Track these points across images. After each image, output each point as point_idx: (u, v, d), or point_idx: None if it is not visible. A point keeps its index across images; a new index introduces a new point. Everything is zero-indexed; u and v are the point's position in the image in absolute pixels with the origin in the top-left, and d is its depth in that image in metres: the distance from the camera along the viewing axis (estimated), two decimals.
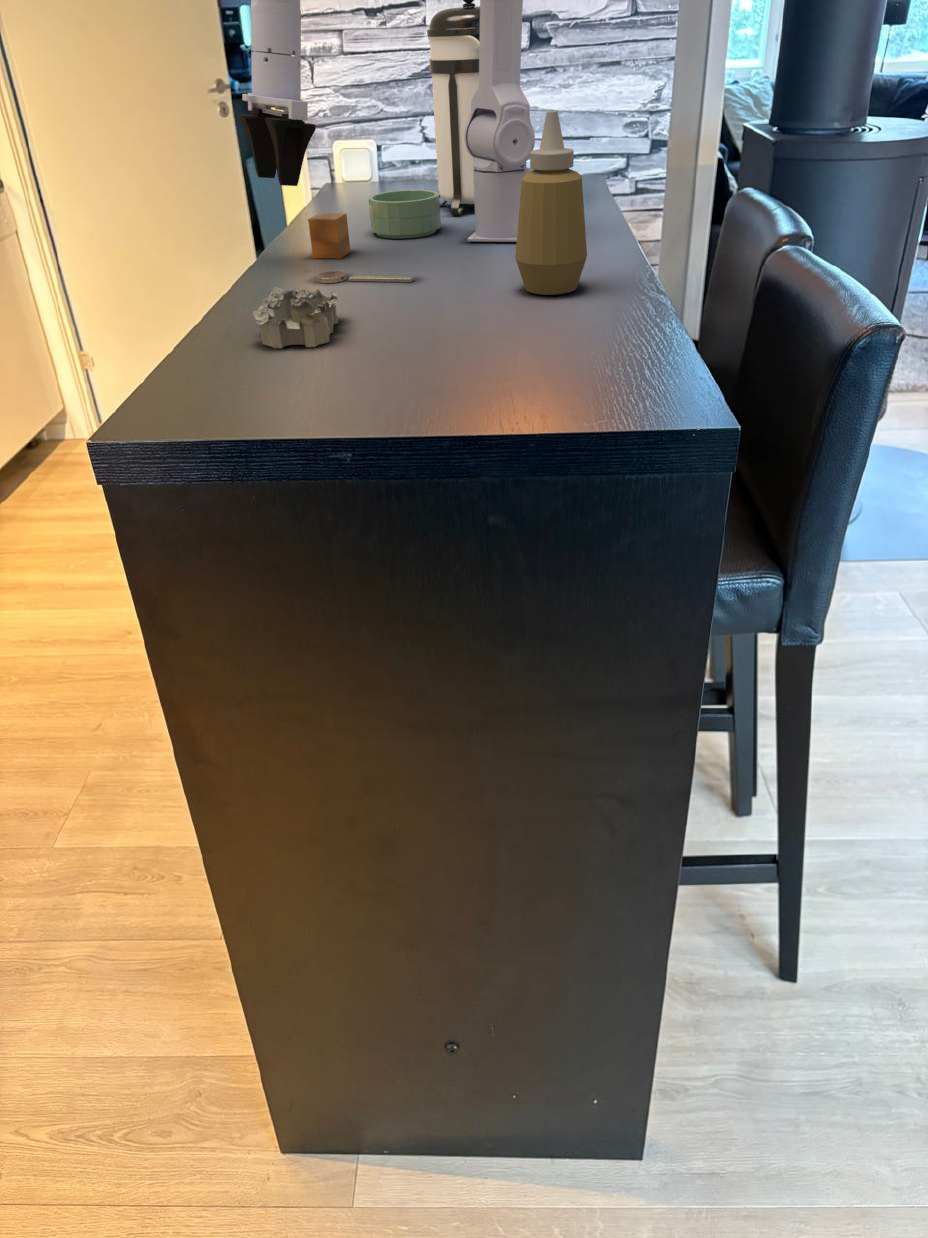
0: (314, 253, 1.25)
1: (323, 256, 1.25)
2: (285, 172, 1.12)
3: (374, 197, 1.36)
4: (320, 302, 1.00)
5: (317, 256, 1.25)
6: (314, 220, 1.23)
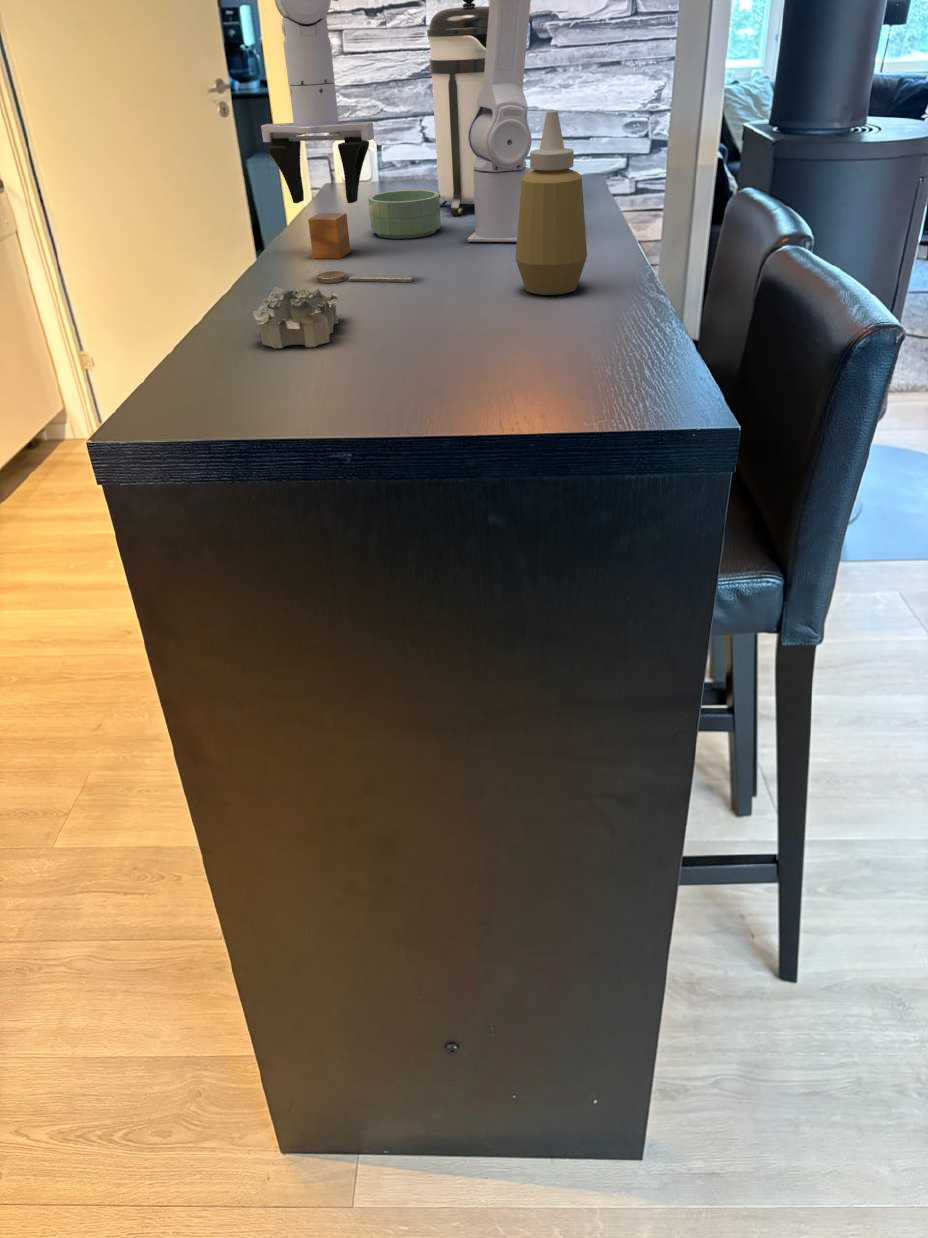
0: (314, 253, 1.25)
1: (323, 256, 1.25)
2: (353, 190, 1.21)
3: (374, 197, 1.36)
4: (320, 302, 1.00)
5: (317, 256, 1.25)
6: (314, 220, 1.23)
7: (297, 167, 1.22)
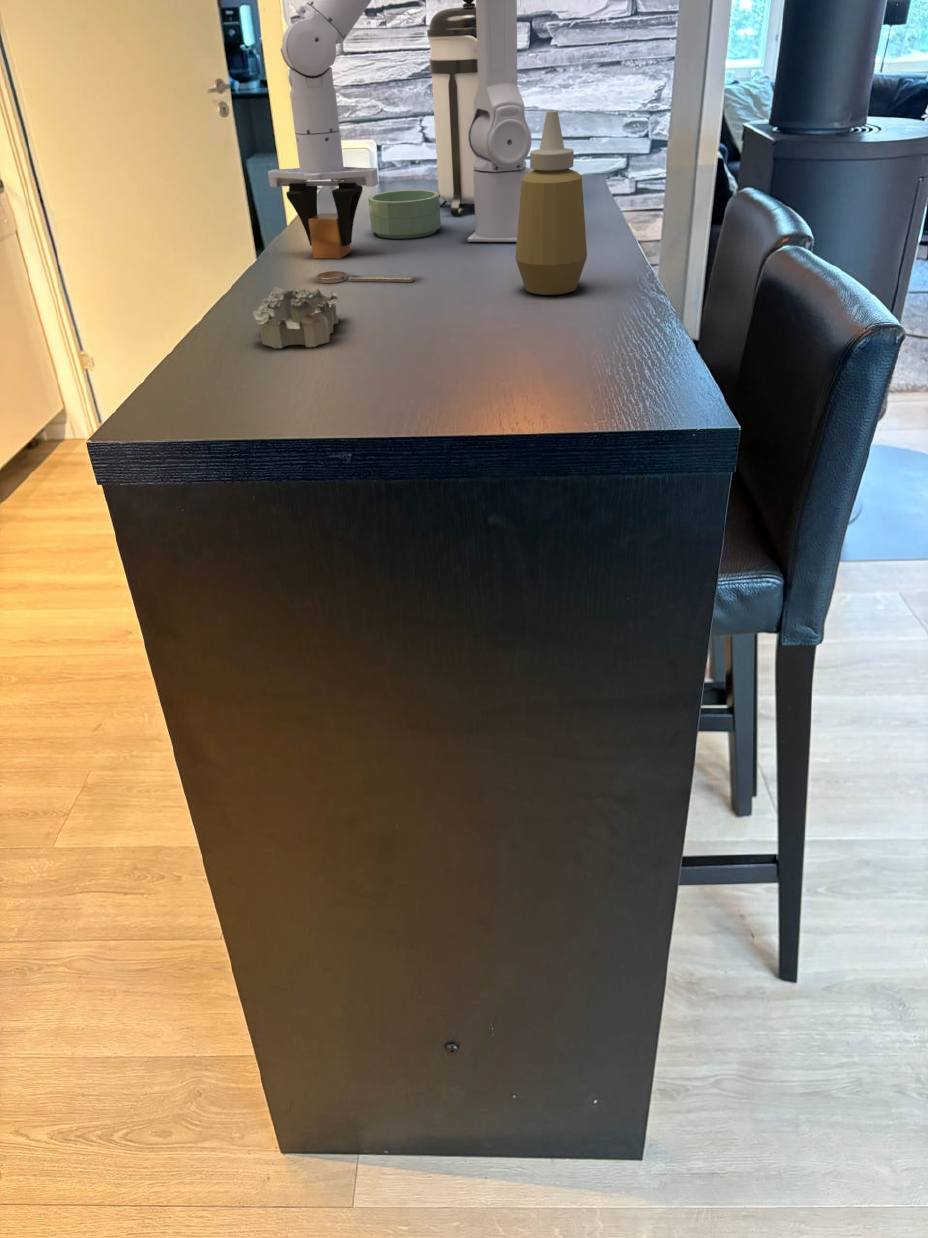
0: (314, 253, 1.25)
1: (323, 256, 1.25)
2: (347, 233, 1.24)
3: (374, 197, 1.36)
4: (320, 302, 1.00)
5: (317, 256, 1.25)
6: (314, 220, 1.23)
7: (314, 211, 1.25)
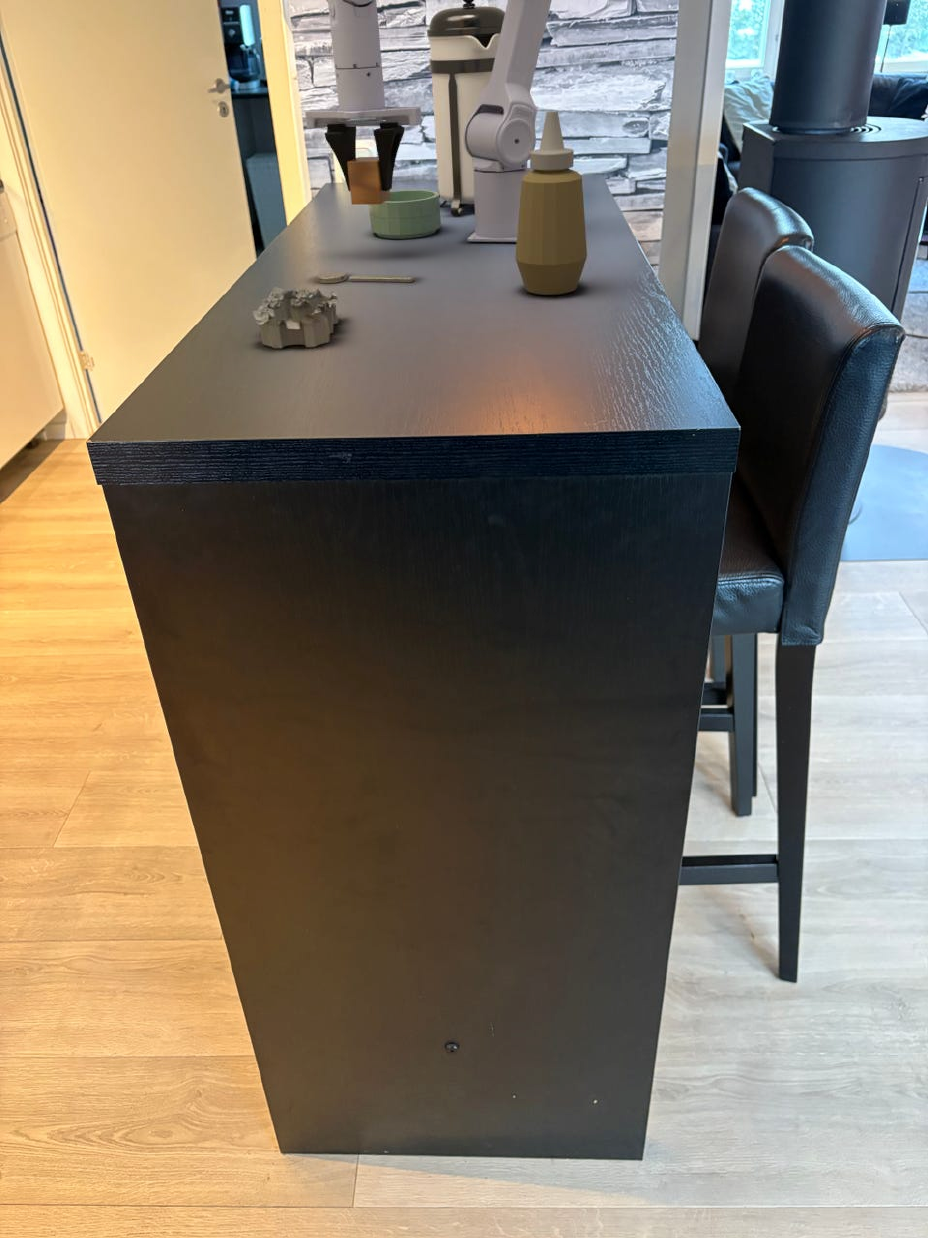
0: (353, 199, 1.19)
1: (362, 202, 1.19)
2: (388, 177, 1.18)
3: None
4: (320, 302, 1.00)
5: (356, 202, 1.19)
6: (354, 163, 1.17)
7: (353, 154, 1.19)
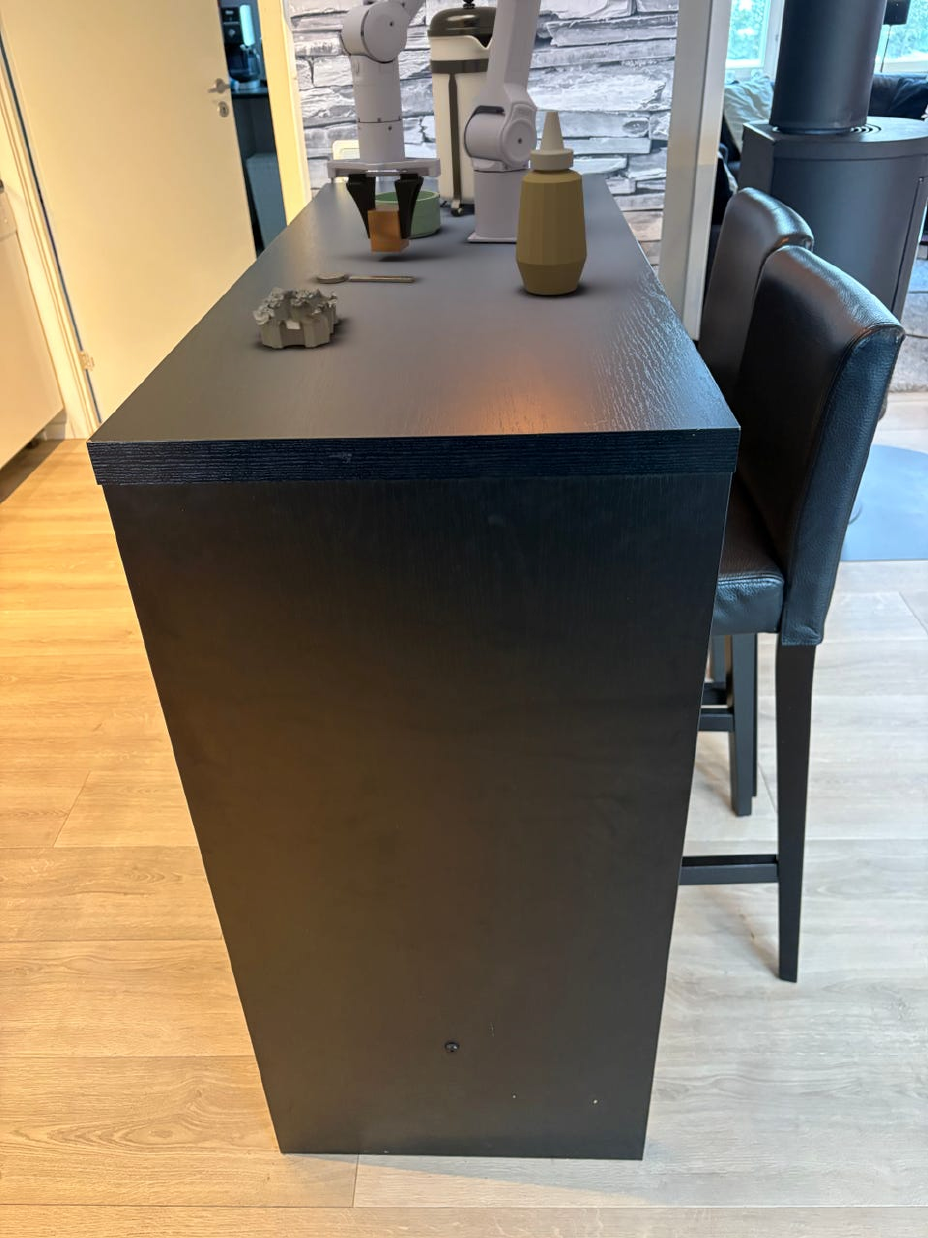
0: (373, 246, 1.21)
1: (382, 249, 1.21)
2: (407, 226, 1.20)
3: None
4: (320, 302, 1.00)
5: (376, 249, 1.21)
6: (374, 212, 1.19)
7: (373, 202, 1.21)
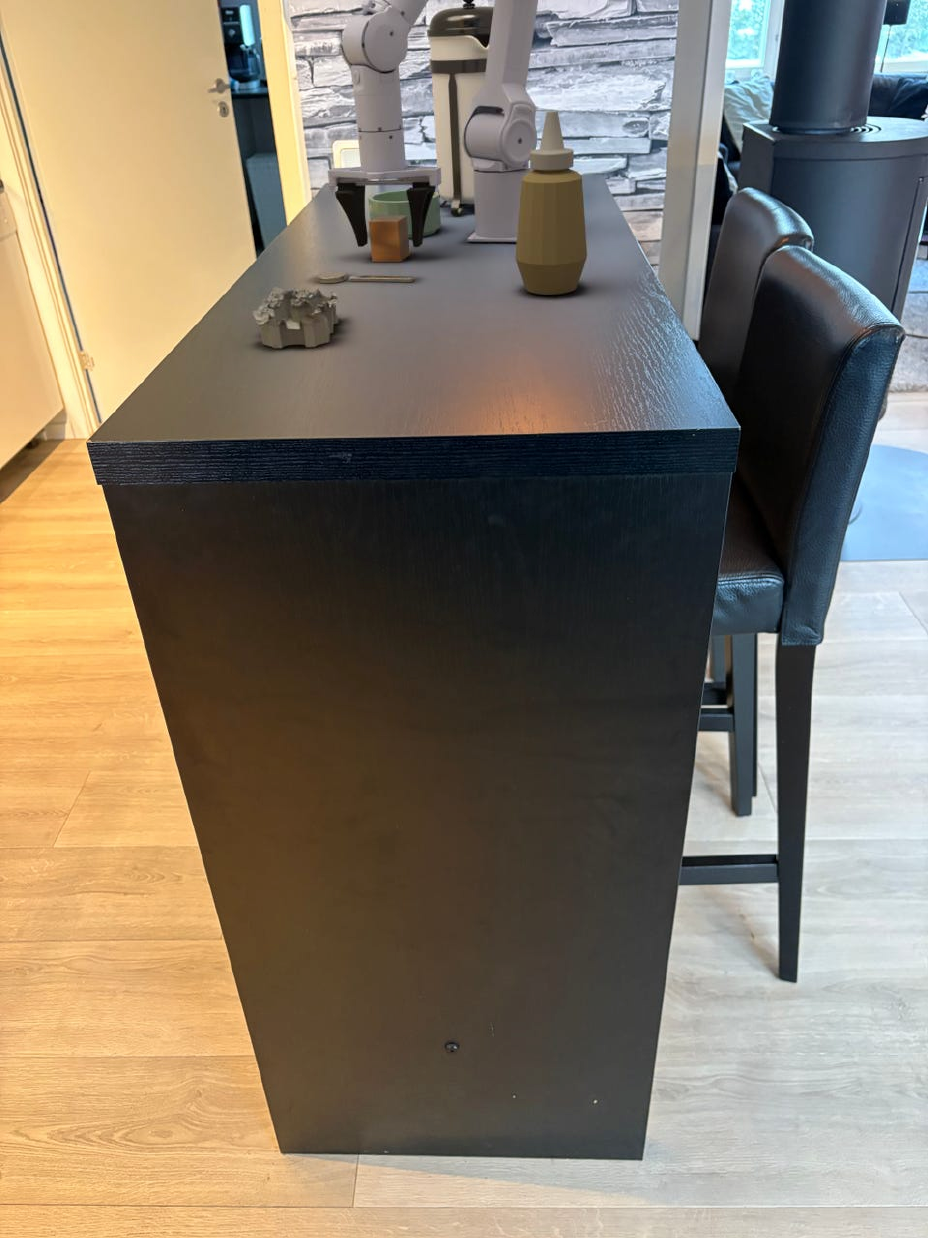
0: (374, 256, 1.22)
1: (383, 259, 1.22)
2: (419, 234, 1.21)
3: (374, 197, 1.36)
4: (320, 302, 1.00)
5: (377, 259, 1.22)
6: (375, 222, 1.20)
7: (362, 211, 1.22)
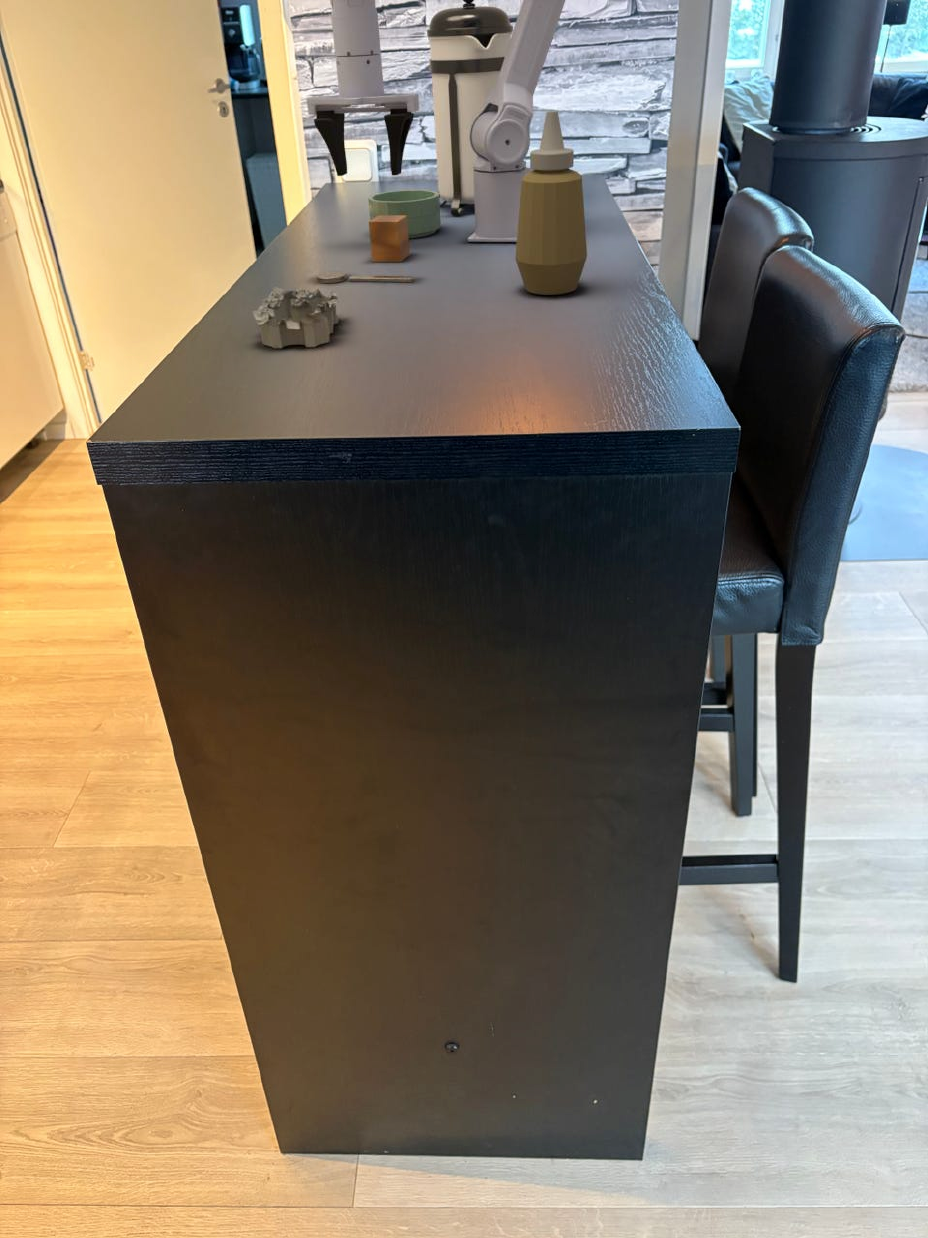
0: (374, 256, 1.22)
1: (383, 259, 1.22)
2: (397, 162, 1.22)
3: (374, 197, 1.36)
4: (320, 302, 1.00)
5: (377, 259, 1.22)
6: (375, 222, 1.20)
7: (341, 140, 1.23)
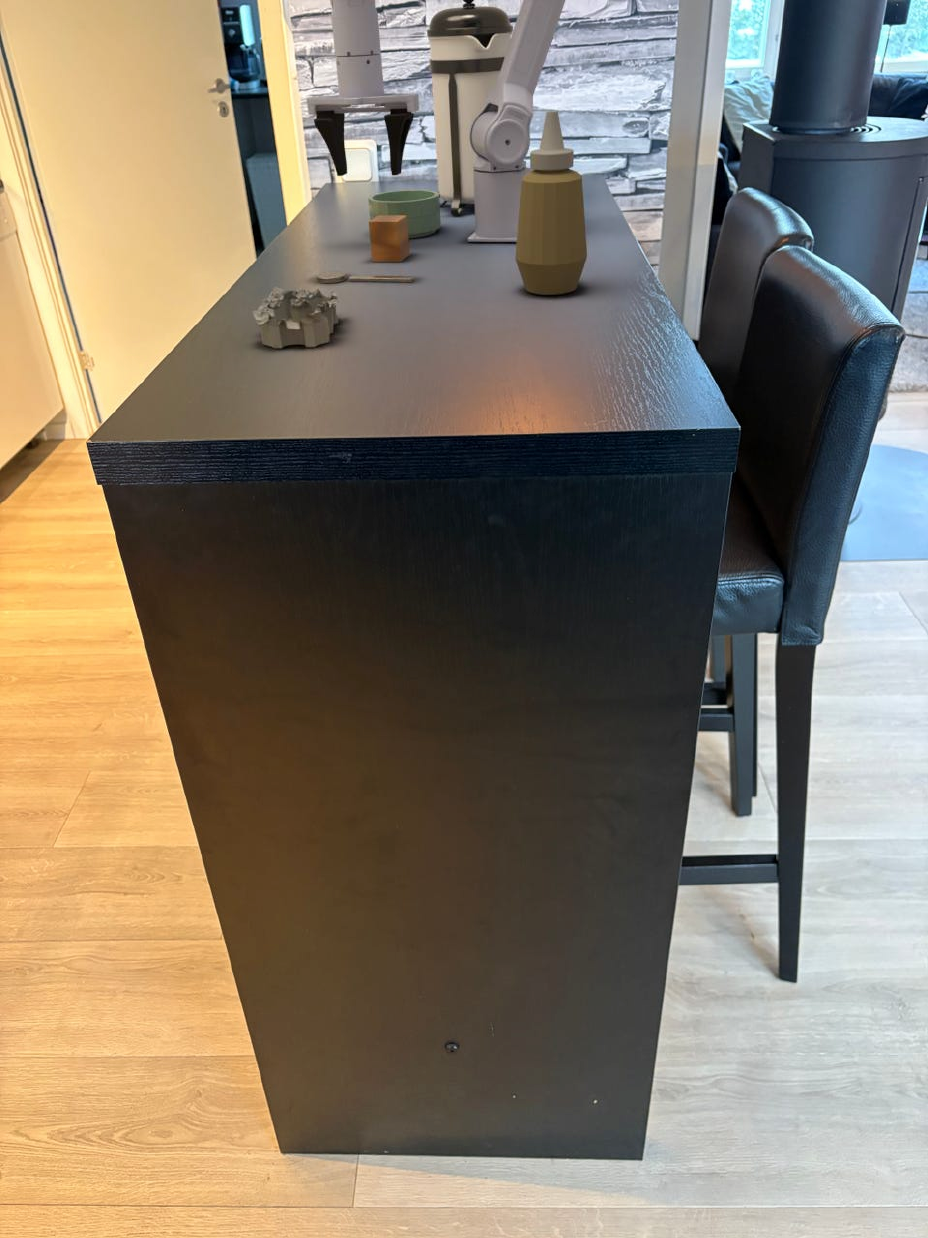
0: (374, 256, 1.22)
1: (383, 259, 1.22)
2: (397, 162, 1.22)
3: (374, 197, 1.36)
4: (320, 302, 1.00)
5: (377, 259, 1.22)
6: (375, 222, 1.20)
7: (341, 140, 1.23)
